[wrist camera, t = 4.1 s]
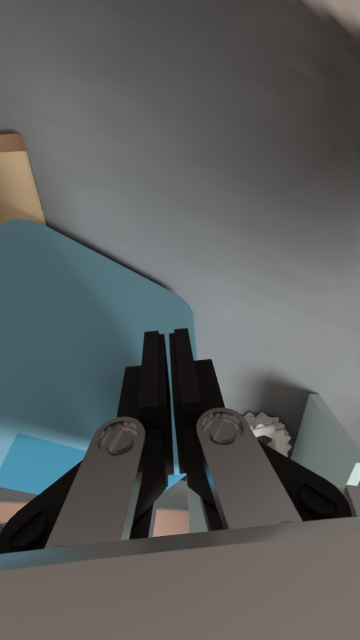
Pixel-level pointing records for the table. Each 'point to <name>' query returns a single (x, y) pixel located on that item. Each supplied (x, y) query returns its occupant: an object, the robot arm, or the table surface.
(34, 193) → the wooden board
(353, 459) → the mint corner bracket
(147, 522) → the robot arm
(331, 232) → the table surface
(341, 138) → the table surface
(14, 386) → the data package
